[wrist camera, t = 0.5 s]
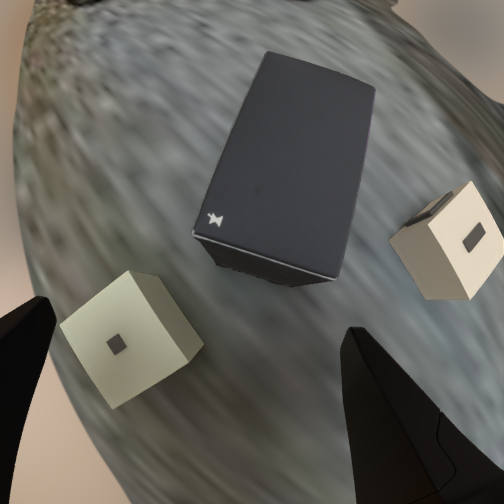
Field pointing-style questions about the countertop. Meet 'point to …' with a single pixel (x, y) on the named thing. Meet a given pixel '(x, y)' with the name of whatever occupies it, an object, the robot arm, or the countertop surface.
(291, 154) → the small box
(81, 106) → the countertop surface
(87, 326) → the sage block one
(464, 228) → the cream block seven
